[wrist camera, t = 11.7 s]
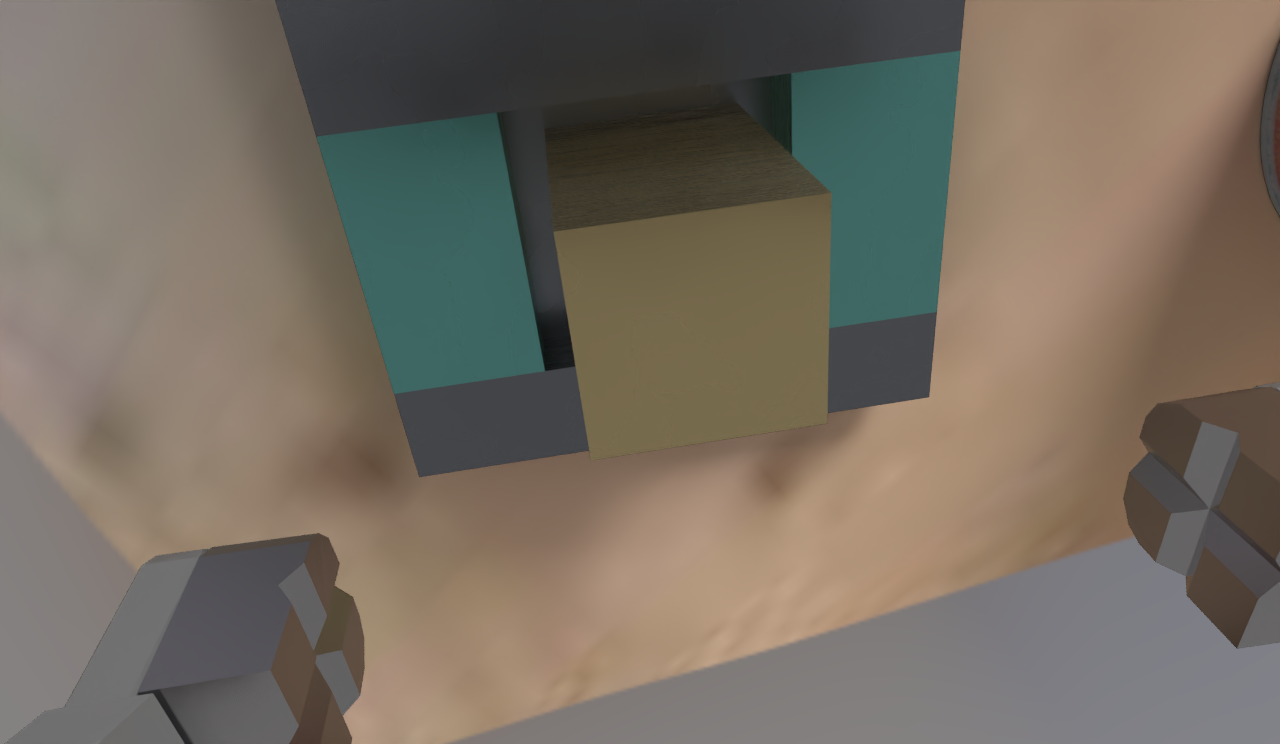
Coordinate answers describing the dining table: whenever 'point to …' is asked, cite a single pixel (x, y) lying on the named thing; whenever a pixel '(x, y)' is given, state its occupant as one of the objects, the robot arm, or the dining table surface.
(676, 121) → the brass peg
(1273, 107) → the canned food
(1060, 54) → the dining table surface
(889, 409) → the dining table surface
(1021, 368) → the dining table surface
